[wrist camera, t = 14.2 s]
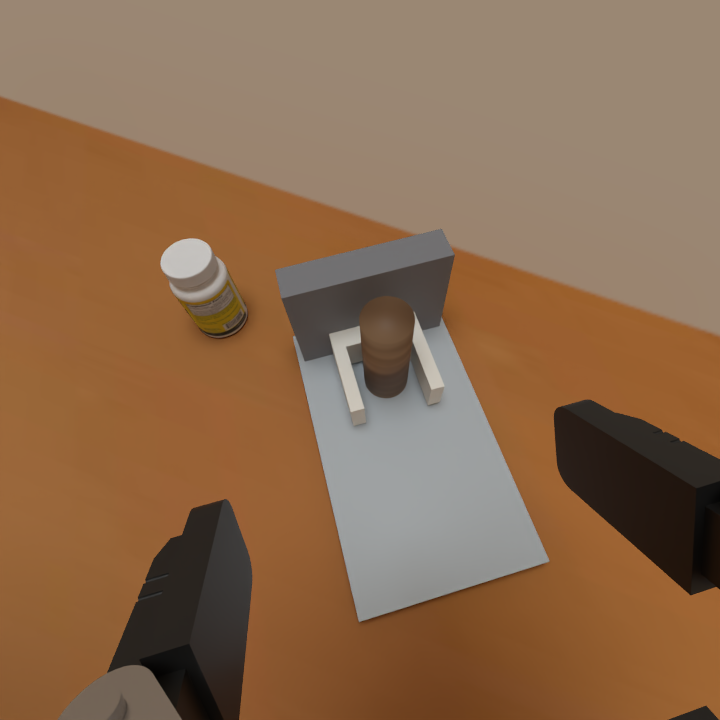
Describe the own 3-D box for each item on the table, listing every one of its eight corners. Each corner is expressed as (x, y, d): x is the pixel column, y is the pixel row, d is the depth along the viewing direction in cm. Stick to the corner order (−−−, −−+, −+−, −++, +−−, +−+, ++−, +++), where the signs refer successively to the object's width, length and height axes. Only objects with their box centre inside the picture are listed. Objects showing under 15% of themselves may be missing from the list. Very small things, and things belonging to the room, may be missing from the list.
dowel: (404, 401, 33) (411, 346, 25) (361, 395, 34) (354, 339, 26) (409, 362, 35) (417, 299, 27) (368, 356, 35) (364, 293, 27)
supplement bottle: (201, 299, 41) (160, 236, 33) (249, 294, 41) (219, 230, 33) (195, 341, 38) (150, 284, 31) (247, 337, 38) (213, 278, 31)
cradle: (439, 401, 33) (444, 386, 30) (353, 426, 32) (350, 412, 30) (412, 331, 36) (414, 311, 33) (333, 352, 35) (328, 333, 33)
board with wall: (543, 562, 29) (616, 553, 20) (360, 620, 28) (347, 640, 19) (432, 307, 39) (447, 224, 30) (295, 343, 38) (267, 268, 29)
